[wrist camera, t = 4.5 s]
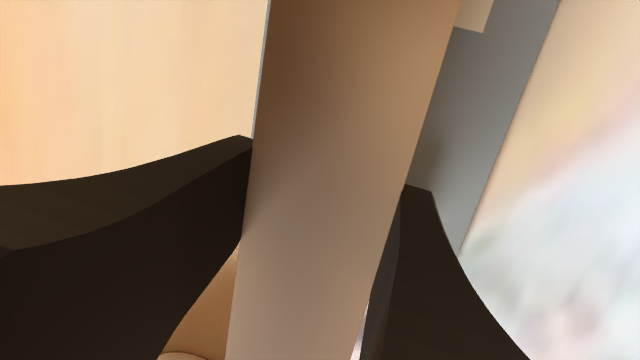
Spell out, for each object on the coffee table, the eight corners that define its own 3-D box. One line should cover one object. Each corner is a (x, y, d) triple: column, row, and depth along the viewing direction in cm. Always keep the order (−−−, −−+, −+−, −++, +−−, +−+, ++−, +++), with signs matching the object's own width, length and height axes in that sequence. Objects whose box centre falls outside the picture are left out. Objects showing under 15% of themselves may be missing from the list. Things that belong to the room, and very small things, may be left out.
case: (497, -132, 12) (509, -154, 7) (361, 315, 19) (326, 437, 14) (360, -160, 12) (296, -195, 8) (277, 287, 19) (219, 397, 15)
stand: (614, -145, 14) (644, -155, 11) (439, 290, 22) (434, 341, 20) (299, -205, 15) (263, -226, 13) (244, 227, 23) (215, 268, 21)
